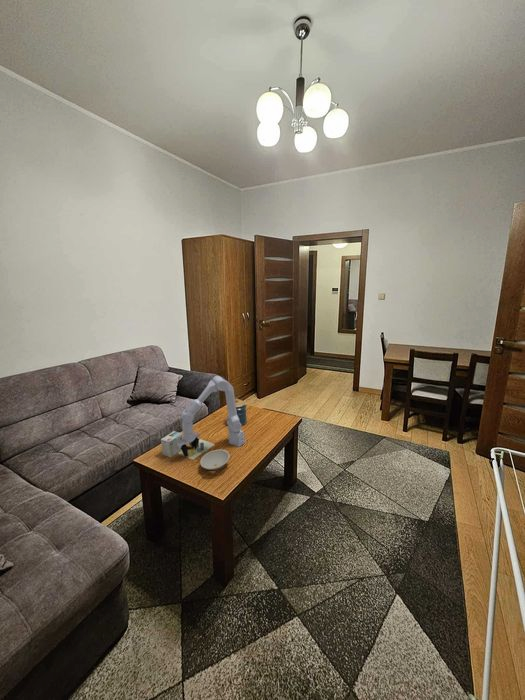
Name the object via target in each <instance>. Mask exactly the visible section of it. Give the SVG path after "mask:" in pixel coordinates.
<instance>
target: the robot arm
mask: <svg viewBox="0 0 525 700" xmlns="http://www.w3.org/2000/svg"><path fill="white" fill-rule="evenodd" d="M234 389H235V388H234V387H233V386H232V384H231V383H230V382H229V381H227V379H225V377H223V376H220V375H214V376H213V377H212V379H210V380H209V381H208V384H207V386H206V387H205V388H204V389H203V391H202V392H201V393H200V395H199V396H198V398H197V399H194V400H191V401H190V404H188V406H187V407H186V408H185V409H184V410H183V411H182V412H181V413H180V418H181V426H182V427H181V428H182V440H181V442H180V443H178V444H177V445H178V448H181V450H180V451H182V452H183V454H184V456H183V457H185V456H186V457H185V458H187V456H188V453H187V451H188V446H189V445H187V444H189V443H190V442H191V445H192V446H194V447H195V451H196V446H197V443H198V441H199V440H200V438H199V437H200V433H199V432H195V433H194V423H193V421H194V417H195V415H196V414H197V413H198V411H200V409H201V408H202V407H203V402H204V401H206V399H207V398H208V397H209V396H210V395H211V394H212V393H217V392H218V391H219V392H224V395H225V402H226V409H227V419H226V425H227V426H228V429H227V431H228V432H227V433H228V444H229V445H232V446H235V447H237V448H240V447H242V446H243V445H244V444H245V443H246V436H245V435H246V434H245V432H244V431H243V430H242V426H243V425H241V423H240V421H239V418H238V416H237V411H236V403H235V399H236V397H235V390H234Z"/></svg>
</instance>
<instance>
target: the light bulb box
mask: <svg viewBox="0 0 525 700" xmlns="http://www.w3.org/2000/svg"><path fill="white" fill-rule="evenodd" d="M182 439H183V432H180V431H179V432H178V431H176V430H172V432H170V433H169V434H167V435H166V436H164V437H162V438H161V439H160V444H161V453H162V455H163V456H166V457H169V458H172V457H173V456H175V455H176V454H178V453H179V452H180V451H182V450H181V448H178V445H177V444H178V443H180V442H181V440H182Z"/></svg>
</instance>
